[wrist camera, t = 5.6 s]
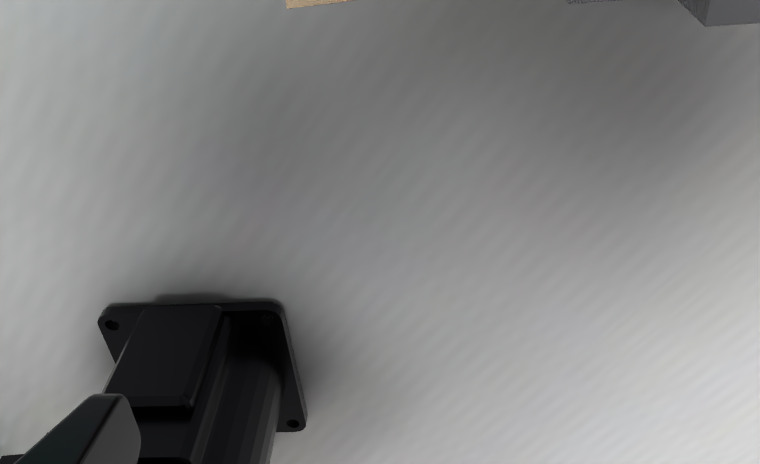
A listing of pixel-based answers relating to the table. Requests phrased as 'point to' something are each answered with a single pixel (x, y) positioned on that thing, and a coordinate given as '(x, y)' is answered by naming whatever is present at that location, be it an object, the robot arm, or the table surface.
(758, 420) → the table surface
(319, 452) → the table surface
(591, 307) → the table surface
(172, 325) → the robot arm
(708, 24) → the stand
